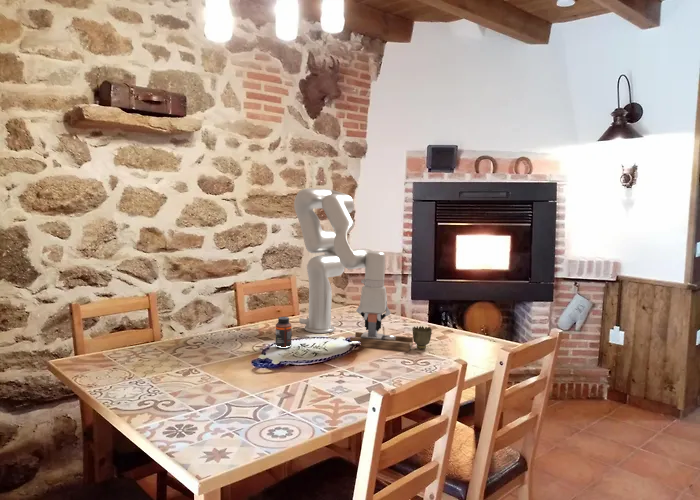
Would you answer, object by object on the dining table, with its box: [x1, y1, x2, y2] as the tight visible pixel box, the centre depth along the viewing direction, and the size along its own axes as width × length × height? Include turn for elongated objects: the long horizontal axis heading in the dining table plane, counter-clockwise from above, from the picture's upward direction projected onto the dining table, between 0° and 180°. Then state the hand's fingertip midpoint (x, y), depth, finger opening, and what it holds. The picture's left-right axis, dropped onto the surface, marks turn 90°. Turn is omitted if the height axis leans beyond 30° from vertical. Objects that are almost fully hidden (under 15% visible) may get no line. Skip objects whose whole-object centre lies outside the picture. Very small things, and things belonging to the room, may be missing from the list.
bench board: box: [349, 331, 414, 352], centre depth 218 cm, size 23×10×3 cm, turn 75°
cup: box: [411, 325, 433, 350], centre depth 214 cm, size 8×7×8 cm
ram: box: [361, 313, 397, 341], centre depth 218 cm, size 13×6×10 cm, turn 75°
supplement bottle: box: [275, 316, 293, 347], centre depth 210 cm, size 6×6×11 cm
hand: (372, 329), depth 218 cm, fingers closed on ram, 3 cm apart
